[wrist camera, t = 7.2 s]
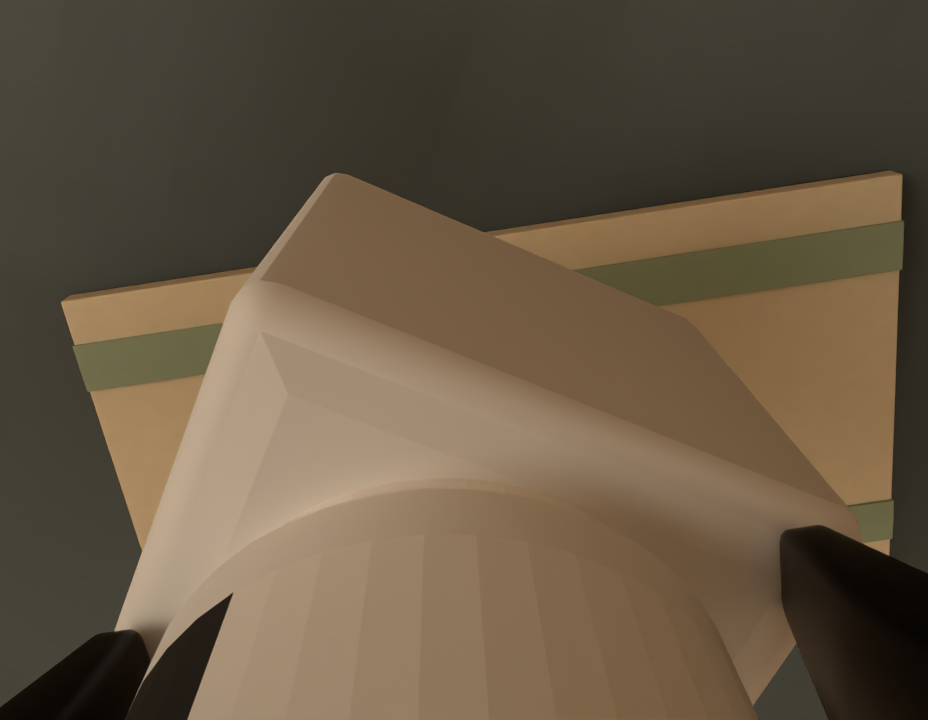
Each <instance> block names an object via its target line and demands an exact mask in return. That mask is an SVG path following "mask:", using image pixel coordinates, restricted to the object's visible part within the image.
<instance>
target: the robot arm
mask: <svg viewBox="0 0 928 720" xmlns="http://www.w3.org/2000/svg"><path fill="white" fill-rule="evenodd" d="M780 571H781V599H782V605H783V609H784V613H785V616H786V619H787V621H788V624H789V626H790V629H791V631H792V633H793V636H794V638H795V641H796V643H797V645H798V648H799V650H800V653H801V655H802V657H803V660H804V662H805V664H806V667H807V669H808V672H809V674H810V676H811V679H812V681H813V684H814V686H815V688H816V691H817V693H818V696H819V698H820V700H821V703H822V705H823V707H824V710H825V712H826V715H827V717H828V719H829V720H928V574H927V573H925V572H923V571H921V570H919V569H917V568H914V567H912V566H910V565H908V564H906V563H904V562H901V561H899V560H897V559H895V558H893V557H891V556H888V555H886V554H884V553H882V552H880V551H878V550H876V549H873V548H871V547H869V546H867V545H865V544H863V543H860V542H858V541H856V540H854V539H852V538H850V537H847V536H845V535H843V534H841V533H839V532H837V531H834V530H832V529H830V528H828V527H825V526H823V525H812V526H806V527H800V528H793V529H787V530H785V531H784V532H783V533H782V535H781V537H780ZM150 663H151V660H150V658H149V655H148V652H147V649H146V646H145V644H144V641H143V639H142V637H141V636H140V634H139V633H138V632H137V631H135V630H132V629H127V630H120V631H114V632H107V633H100V634H98V635H95V636H94V637H92V638H91V639H90V640H88V641H87V642H86V643H84V644H83V645H82V646H80V647H79V648H78V649H76V650H75V651H74V652H72V653H71V654H70V655H68V656H67V657H66V658H65V659H63V660H62V661H61V662H59V663H58V664H57V665H55V666H54V667H53V668H51V669H50V670H49V671H47V672H46V673H45V674H43V675H42V676H41V677H40V678H38V679H37V680H36V681H34V682H33V683H32V684H30V685H29V686H28V687H26V688H25V689H24V690H22V691H21V692H20V693H18V694H17V695H16V696H15V697H13V698H12V699H11V700H9V701H8V702H7V703H5V704H4V705H3V706H1V707H0V720H125V718H126V716H127V714H128V711H129V709H130V707H131V705H132V703H133V700H134V698H135V696H136V694H137V692H138V689H139V687H140V685H141V683H142V681H143V678H144V676H145V674H146V672H147V669H148V667H149V665H150Z"/></svg>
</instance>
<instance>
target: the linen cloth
mask: <svg viewBox="0 0 928 720" xmlns="http://www.w3.org/2000/svg"><path fill="white" fill-rule="evenodd" d="M902 181H903V176H902V174H900V173H896V172H893V171H884V172H877V173H871V174H864V175H858V176H851V177H844V178H838V179H831V180H825V181H818V182H811V183H805V184H798V185H792V186H785V187H779V188H772V189H765V190H759V191H752V192H746V193H739V194H733V195H726V196H719V197H713V198H706V199H700V200H693V201H687V202H680V203H673V204H667V205H660V206H654V207H647V208H640V209H634V210H627V211H621V212H614V213H608V214H601V215H594V216H588V217H581V218H575V219H568V220H562V221H555V222H548V223H542V224H535V225H529V226H522V227H515V228H509V229H502V230H496V231H489V232H484V233H486V234H489V235H491V236H493V237H496V238H498V239H500V240H503V241H505V242H507V243H510V244H512V245H514V246H517V247H519V248H521V249H524V250H526V251H528V252H531V253H533V254H535V255H538V256H540V257H543V258H545V259H547V260H550V261H552V262H554V263H557V264H559V265H561V266H564V267H566V268H568V269H571V270H573V271H575V272H578V273H580V274H582V275H585V276H587V277H589V278H592V279H594V280H597V281H599V282H601V283H604V284H606V285H608V286H611V287H613V288H615V289H618V290H620V291H622V292H625V293H627V294H629V295H632V296H634V297H636V298H639V299H641V300H643V301H646V302H648V303H650V304H653V305H655V306H658V307H660V308H662V309H665V310H667V311H669V312H672V313H674V314H676V315H679V316H681V317H683V318H686V319H687V320H688V321H690V322H691V323H692V324H693V325H694V326H695V327H696V328H697V329H698V330H699V331H700V333H701V334H702V335H703V336H704V337H705V339H706V340H707V341H708V342H709V343H710V344H711V346H712V347H713V348H714V349H715V350H716V352H717V353H718V354H719V355H720V356H721V357H722V359H723V360H724V361H725V362H726V363H727V364H728V366H729V367H730V368H731V369H732V370H733V372H734V373H735V374H736V375H737V376H738V377H739V379H740V380H741V381H742V382H743V383H744V385H745V386H746V387H747V388H748V389H749V390H750V392H751V393H752V394H753V395H754V396H755V398H756V399H757V400H758V401H759V402H760V403H761V405H762V406H763V407H764V408H765V409H766V411H767V412H768V413H769V414H770V415H771V416H772V418H773V419H774V420H775V421H776V422H777V424H778V425H779V426H780V427H781V428H782V429H783V431H784V432H785V433H786V434H787V435H788V437H789V438H790V439H791V440H792V441H793V442H794V444H795V445H796V446H797V447H798V448H799V450H800V451H801V452H802V453H803V454H804V455H805V457H806V458H807V459H808V460H809V461H810V463H811V464H812V465H813V466H814V467H815V468H816V470H817V471H818V472H819V473H820V474H821V476H822V477H823V478H824V479H825V480H826V481H827V483H828V484H829V485H830V486H831V487H832V489H833V490H834V491H835V492H836V493H837V494H838V496H839V497H840V498H841V499H842V500H843V502H844V503H845V504H846V505H847V506H848V507H849V509H850V510H851V511H852V512H853V513H854V515H855V516H856V517H857V520H858V523H859V526H860V530H861V534H862V538H863V544H865V545H867V546H869V547H871V548H873V549H876V550H878V551H880V552H882V553H884V554H886V555H888V556H889V551H890V539H893V514H894V500H893V499H891V494H892V466H893V437H894V409H895V380H896V352H897V323H898V295H899V270H902V266H903V239H904V221H903V220H901V209H902ZM256 268H257V267H252V268H246V269H239V270H233V271H226V272H220V273H213V274H206V275H200V276H193V277H187V278H180V279H173V280H167V281H160V282H154V283H147V284H141V285H134V286H127V287H121V288H114V289H108V290H101V291H95V292H88V293H81V294H75V295H70V296H69V297H67V298H66V299H65V300H63V301H62V302H61V304H62V307H63V310H64V314H65V317H66V320H67V323H68V326H69V329H70V332H71V335H72V338H73V341H74V344H75V345H74V346H73V350H74V353H75V356H76V359H77V362H78V365H79V368H80V371H81V374H82V377H83V380H84V383H85V387H86V390H87V392H90V393H91V396H92V399H93V402H94V405H95V408H96V411H97V414H98V417H99V421H100V424H101V427H102V430H103V433H104V436H105V439H106V442H107V445H108V448H109V451H110V454H111V457H112V460H113V463H114V466H115V469H116V473H117V476H118V479H119V482H120V485H121V488H122V491H123V494H124V497H125V500H126V503H127V506H128V509H129V512H130V515H131V518H132V521H133V524H134V528H135V531H136V534H137V537H138V540H139V543H140V546H141V549H142V551H143V548H144V546H145V543H146V540H147V537H148V534H149V532H150V529H151V526H152V523H153V520H154V517H155V515H156V512H157V509H158V506H159V503H160V501H161V498H162V495H163V492H164V489H165V486H166V484H167V481H168V478H169V475H170V472H171V469H172V467H173V464H174V461H175V458H176V455H177V453H178V450H179V447H180V444H181V441H182V438H183V436H184V433H185V430H186V427H187V424H188V422H189V419H190V416H191V413H192V410H193V407H194V405H195V402H196V399H197V396H198V393H199V391H200V388H201V385H202V382H203V379H204V376H205V374H206V371H207V368H208V365H209V362H210V360H211V357H212V354H213V351H214V348H215V345H216V343H217V340H218V337H219V334H220V331H221V329H222V326H223V323H224V320H225V317H226V314H227V312H228V309H229V306H230V303H231V302H232V300H233V299H234V297H235V296H236V295H237V293H238V292H239V291H240V289H241V288H242V287H243V285H244V284H245V283H246V281H247V280H248V279H249V277H250V276H251V275H252V273H253V272H254V271H255V269H256Z"/></svg>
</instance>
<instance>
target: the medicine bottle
mask: <svg viewBox="0 0 928 720" xmlns="http://www.w3.org/2000/svg"><path fill="white" fill-rule="evenodd" d="M812 525H823V526H825V527H828V528H830V529H832V530H834V531H837V532H839V533H841V534H843V535H845V536H847V537H850V538H852V539H854V540H856V541H858V542H860V543H863V538H862V534H861V530H860V526H859V523H858V520H857V517H856V516H855V515H854V513H853V512H852V511H851V510H850V509H849V507H848V506H847V505H846V504H845V503H844V502H843V500H842V499H841V498H840V497H839V496H838V494H837V493H836V492H835V491H834V490H833V489H832V487H831V486H830V485H829V484H828V483H827V481H826V480H825V479H824V478H823V477H822V476H821V474H820V473H819V472H818V471H817V470H816V468H815V467H814V466H813V465H812V464H811V463H810V461H809V460H808V459H807V458H806V457H805V455H804V454H803V453H802V452H801V451H800V450H799V448H798V447H797V446H796V445H795V444H794V442H793V441H792V440H791V439H790V438H789V437H788V435H787V434H786V433H785V432H784V431H783V429H782V428H781V427H780V426H779V425H778V424H777V422H776V421H775V420H774V419H773V418H772V416H771V415H770V414H769V413H768V412H767V411H766V409H765V408H764V407H763V406H762V405H761V403H760V402H759V401H758V400H757V399H756V398H755V396H754V395H753V394H752V393H751V392H750V390H749V389H748V388H747V387H746V386H745V385H744V383H743V382H742V381H741V380H740V379H739V377H738V376H737V375H736V374H735V373H734V372H733V370H732V369H731V368H730V367H729V366H728V364H727V363H726V362H725V361H724V360H723V359H722V357H721V356H720V355H719V354H718V353H717V352H716V350H715V349H714V348H713V347H712V346H711V344H710V343H709V342H708V341H707V340H706V339H705V337H704V336H703V335H702V334H701V333H700V331H699V330H698V329H697V328H696V327H695V326H694V325H693V324H692V323H691V322H690V321H688V320H687V319H686V318H683V317H681V316H679V315H676V314H674V313H672V312H669V311H667V310H665V309H662V308H660V307H658V306H655V305H653V304H650V303H648V302H646V301H643V300H641V299H639V298H636V297H634V296H632V295H629V294H627V293H625V292H622V291H620V290H618V289H615V288H613V287H611V286H608V285H606V284H604V283H601V282H599V281H597V280H594V279H592V278H589V277H587V276H585V275H582V274H580V273H578V272H575V271H573V270H571V269H568V268H566V267H564V266H561V265H559V264H557V263H554V262H552V261H550V260H547V259H545V258H543V257H540V256H538V255H535V254H533V253H531V252H528V251H526V250H524V249H521V248H519V247H517V246H514V245H512V244H510V243H507V242H505V241H503V240H500V239H498V238H496V237H493V236H491V235H489V234H486V233H484V232H481V231H479V230H477V229H474V228H472V227H470V226H467V225H465V224H463V223H460V222H458V221H456V220H453V219H451V218H449V217H446V216H444V215H442V214H439V213H437V212H435V211H432V210H430V209H427V208H425V207H423V206H420V205H418V204H416V203H413V202H411V201H409V200H406V199H404V198H402V197H399V196H397V195H395V194H392V193H390V192H388V191H385V190H383V189H381V188H378V187H376V186H374V185H371V184H369V183H366V182H364V181H362V180H359V179H357V178H355V177H352V176H350V175H348V174H341V173H334V174H332V175H329V176H327V177H325V178H324V179H323V181H322V182H321V183H320V185H319V186H318V187H317V189H316V190H315V191H314V193H313V194H312V195H311V197H310V198H309V199H308V201H307V202H306V203H305V205H304V206H303V207H302V208H301V210H300V211H299V212H298V214H297V215H296V216H295V218H294V219H293V220H292V222H291V223H290V224H289V226H288V227H287V228H286V230H285V231H284V232H283V234H282V235H281V236H280V238H279V239H278V240H277V242H276V243H275V244H274V246H273V247H272V248H271V249H270V251H269V252H268V253H267V255H266V256H265V257H264V259H263V260H262V261H261V263H260V264H259V265H258V267H257V268H256V269H255V271H254V272H253V273H252V275H251V276H250V277H249V279H248V280H247V281H246V283H245V284H244V285H243V287H242V288H241V289H240V291H239V292H238V293H237V295H236V296H235V297H234V299H233V300H232V302H231V303H230V306H229V309H228V312H227V314H226V317H225V320H224V323H223V326H222V329H221V331H220V334H219V337H218V340H217V343H216V345H215V348H214V351H213V354H212V357H211V360H210V362H209V365H208V368H207V371H206V374H205V376H204V379H203V382H202V385H201V388H200V391H199V393H198V396H197V399H196V402H195V405H194V407H193V410H192V413H191V416H190V419H189V422H188V424H187V427H186V430H185V433H184V436H183V438H182V441H181V444H180V447H179V450H178V453H177V455H176V458H175V461H174V464H173V467H172V469H171V472H170V475H169V478H168V481H167V484H166V486H165V489H164V492H163V495H162V498H161V501H160V503H159V506H158V509H157V512H156V515H155V517H154V520H153V523H152V526H151V529H150V532H149V534H148V537H147V540H146V543H145V546H144V548H143V551H142V554H141V557H140V560H139V563H138V565H137V568H136V571H135V574H134V577H133V579H132V582H131V585H130V588H129V591H128V594H127V596H126V599H125V602H124V605H123V608H122V610H121V613H120V616H119V619H118V622H117V625H116V627H115V630H114V631H120V630H127V629H132V630H135V631H137V632H138V633H139V634H140V636H141V637H142V639H143V641H144V644H145V646H146V649H147V652H148V655H149V658H150V660H151V663H150V665H149V667H148V669H147V672H146V674H145V676H144V678H143V681H142V683H141V685H140V687H139V689H138V692H137V694H136V696H135V698H134V700H133V703H132V705H131V707H130V709H129V711H128V714H127V716H126V718H125V720H759V718H758V716H757V714H756V712H755V710H754V707H753V705H754V703H755V702H756V700H757V699H758V698H759V696H760V695H761V693H762V692H763V690H764V689H765V688H766V686H767V685H768V683H769V682H770V680H771V679H772V678H773V676H774V675H775V673H776V672H777V670H778V669H779V667H780V666H781V665H782V663H783V662H784V660H785V659H786V657H787V656H788V655H789V653H790V652H791V650H792V649H793V647H794V646H795V645H796V641H795V638H794V636H793V633H792V631H791V629H790V626H789V624H788V621H787V619H786V616H785V613H784V609H783V605H782V599H781V571H780V537H781V535H782V533H783V532H784V531H785V530H787V529H793V528H800V527H806V526H812Z"/></svg>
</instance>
